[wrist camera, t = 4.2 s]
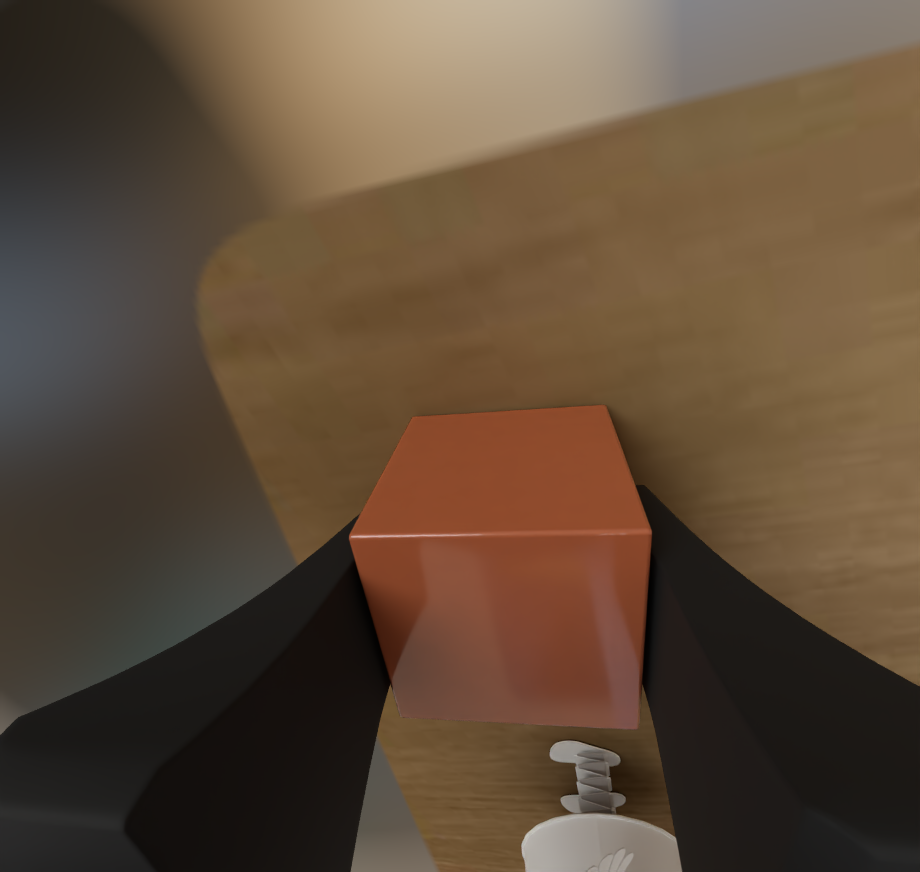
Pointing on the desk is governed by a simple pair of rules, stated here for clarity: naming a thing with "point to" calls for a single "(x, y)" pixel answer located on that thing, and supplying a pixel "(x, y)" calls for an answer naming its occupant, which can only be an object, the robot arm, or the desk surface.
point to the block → (509, 569)
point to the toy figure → (596, 825)
